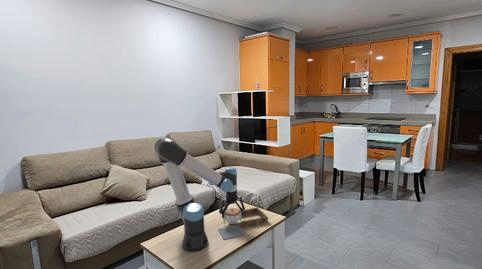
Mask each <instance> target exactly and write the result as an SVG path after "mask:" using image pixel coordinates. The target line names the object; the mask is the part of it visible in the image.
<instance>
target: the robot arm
mask: <svg viewBox="0 0 482 269" xmlns="http://www.w3.org/2000/svg"><path fill="white" fill-rule="evenodd" d="M154 150H155V153H156V155H157V157H158V160H159V163H160V164H162V165H164V168H165V171H166V174H167V177H168V179H169V182H170V185H171V188H172V191H173V193H174V196H175V201H174V204H175V207H176V212H177V214H178V215H179V217H180V218H181V220H182V221H183V230H184V235H183V238H182V243H181V244H182V245H181V246H182V249H184V250H185V251H187V252H191V253H192V252H199V251H203V249H205V248H207V247H208V245H209V238H208V235H207V233H206V231H205V211H204V208H203V206H202V205H201V204H200V203H196V201H195V197H194V195H193V194H191V193H190V191H189V187H188V185H187V182H186V179H185V177H184V173H183V170H182V168H184V169H186V170H188V171H189V172H191V173H192V174H194V175H196V176H198V177H199V178H201V179H203V180H204V181H206V182H207V183H208V185H209V186H215V187H216V188H218V189H219V190H221V191H222V192H223V193H225V198H221V204H220V206H219V211H218V213H219V214H220V215H221V219H222V220H223V221H222V222H223V224H226V223H227V221H226V219H225V211H226V210H227V209H229V207H230V205H234V204H235V205H236V206H237V207H238V209H239V210H240V218H239V222H241V221H242V216H241V215H243V210H246V208H245V205H244V202H243V196H241V195H239V196H238V180H237V179H238V173H237V172H238V171H237V168H236V167H234V166H229V167H225V170H224V171H219V172H218V171H216V170H215V169H213V168H211V167H210V166H208V165H207V164H205V163H203V162H201V161H200V160H198V159H196V158H195V157H194V156H192V155H191V154H189V152H188V151H187V150H185V149H184V148H183V147H181V145H179V144H178V143H177V142H176V141H175V140H173V139H172V138H170V137H167V136H166V137H165V136H163V137H160V138H158V139H157V140H156V142H155V144H154ZM181 167H182V168H181ZM238 200H239V202H237V201H238ZM239 203H240V204H239ZM240 205H241V206H240Z"/></svg>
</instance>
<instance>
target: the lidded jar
mask: <svg viewBox="0 0 482 269" xmlns="http://www.w3.org/2000/svg"><path fill="white" fill-rule="evenodd" d="M239 218H240V209H239V208H237V207H230V208H229V207H228V208H227V210H226V211H225V219H226V223H228V224H230V225H233V224H234V225H236V224H237V222H238V221H240V219H239Z"/></svg>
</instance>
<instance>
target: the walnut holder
mask: <svg viewBox="0 0 482 269" xmlns="http://www.w3.org/2000/svg"><path fill="white" fill-rule="evenodd" d="M255 214H257V215H258V216H259V217H257V218H251V219H248V220H241V221H239V227H240V228H241V229H244V228H248V227H253V226H257V225H263V224H267V223H269V222H268V221H269V217H268V215H266V214H265V213H264V211H262V210H261V209H260V208H259V207H252V208H247V209H246V208H245V210H243V215H241V217H245V216H250V215H251V216H252V215H255Z"/></svg>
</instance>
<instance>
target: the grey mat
mask: <svg viewBox="0 0 482 269" xmlns="http://www.w3.org/2000/svg"><path fill="white" fill-rule="evenodd" d="M217 231H218V233H219V234H220V237H222V239H223V240H224V241H225V240H230V239H234V238H238V237H244V236H246V234H245V232H244V231H243V229H242V228H240V225H239V224H234V225H231V226H227V227H222V228H217Z"/></svg>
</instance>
